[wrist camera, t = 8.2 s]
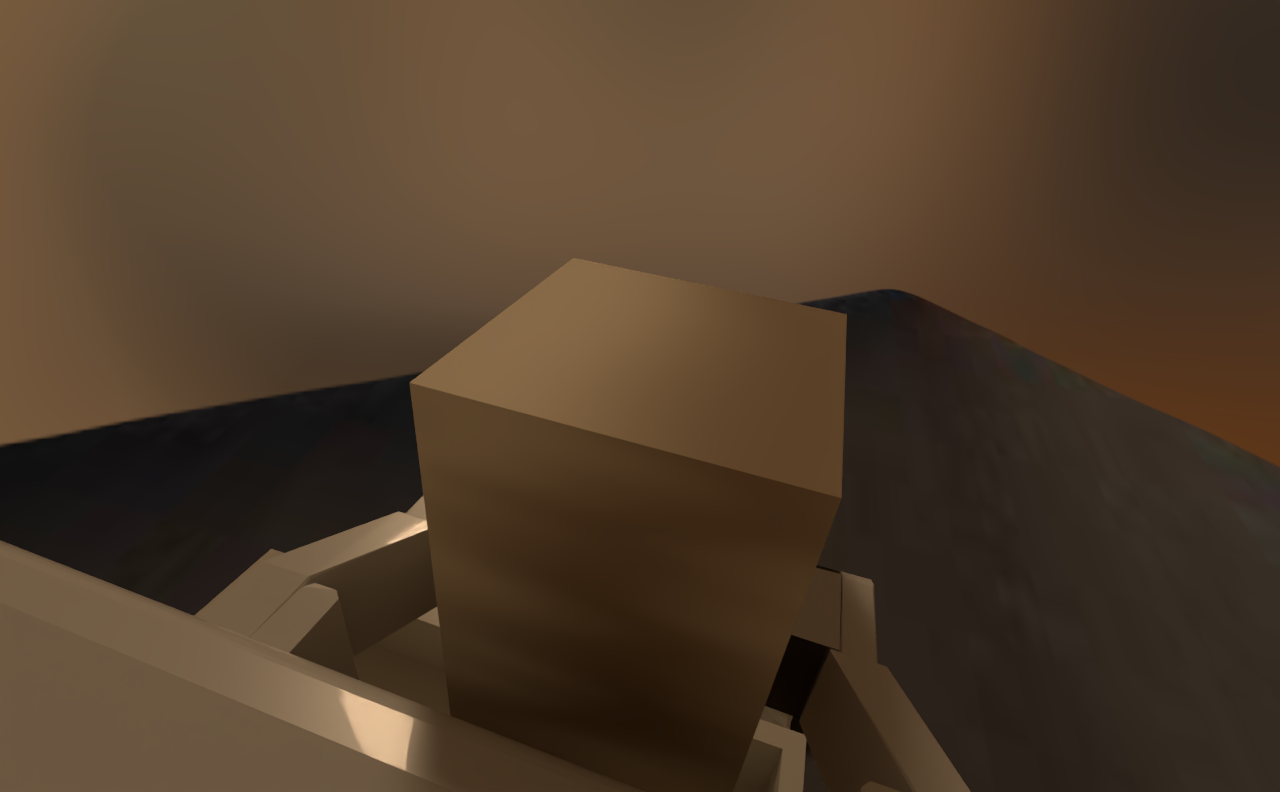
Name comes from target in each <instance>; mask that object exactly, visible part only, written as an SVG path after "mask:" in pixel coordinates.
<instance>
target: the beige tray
mask: <svg viewBox="0 0 1280 792" xmlns="http://www.w3.org/2000/svg"><path fill="white" fill-rule="evenodd" d="M281 554H284V553H282V552H279V551H276V550H273V549H271V550H269V551H268V552H267V553H266V554H265V555H264V556H263V557H261V558H260V559H259V560H258V561H257V562H256V563H254V564H253V565H252V566H251V567H250V568H249V569H248V570H246V571H245V572H244V573H243V574H242V575H241V576H240V577H238V578H237V579H236V580H235V581H234V582H233V583H231V584H230V585H229V586H228V587H227V588H226V589H225V590H223V591H222V592H221V593H220V594H219V595H218V596H217V597H215V598H214V599H213V600H212V601H211V602H210V603H208V604H207V605H206V606H205V607H204V608H203V609H202V610H200V611H199V612H198V613H197V614H196V615H195V617H199V616H201V615H202V614H203V613H204V612H205V611H206V610H207V609H209V608H210V607H211V606H212V605H213V604H214V603H215V602H217V601H218V600H219V599H220V598H221V597H222V596H224V595H225V594H226V593H227V592H228V591H229V590H230V589H232V588H233V587H234V586H235V585H236V584H237V583H238V582H240V581H241V580H242V579H243V578H244V577H245V576H246V575H248V574H249V573H250V572H251V571H252V570H253V569H255V568H256V567H257V566H258V565H259V564H260V563H261V562H263V561H265V560H268V559H270V558H273V557H276V556H279V555H281ZM354 659H355V663H356V667H357V671H358V674H359V678H360V681H362V682H365V683H367V684H370V685H373V686H375V687H378V688H380V689H383V690H385V691H388V692H391V693H393V694H396V695H398V696H401V697H403V698H406V699H409V700H411V701H414V702H416V703H419V704H421V705H424V706H427V707H429V708H432V709H434V710H437V711H439V712H442V713H445V714H447V715H450V707H449V699H448V691H447V683H446V675H445V666H444V658H443V650H442V642H441V634H440V626H439V618H438V610H437V607H436V608H434V609H432V610H431V611H429V612H427V613H426V614H424V615H422V616H421V617H419V618H417V619H416V620H414V621H412V622H411V623H409V624H407V625H406V626H404V627H402V628H401V629H399V630H397V631H396V632H394V633H392V634H391V635H389V636H387V637H386V638H384V639H382V640H381V641H379V642H377V643H376V644H374V645H372V646H371V647H369V648H367V649H366V650H364V651H362V652H361V653H359V654H358V655H356V656H354ZM450 716H451V715H450ZM805 753H806V737H805V735H804V734H801V733H798V732H796V731H793V730H790V729H787V728H784V727H781V726H778V725H776V724H773V723H770V722H767V721H764V720H761V719H760V720H759V723H758V726H757V728H756V731H755V734H754V737H753V739H752V742H751V745H750V747H749V750H748V753H747V756H746V758H745V761H744V764H743V766H742V769H741V772H740V775H739V777H738V780H737V783H736V785H735V788H734V791H733V792H803V782H804V767H805Z"/></svg>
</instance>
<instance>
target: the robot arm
mask: <svg viewBox="0 0 1280 792" xmlns="http://www.w3.org/2000/svg"><path fill="white" fill-rule="evenodd" d="M436 607H437V601H436V593H435V585H434V577H433V569H432V561H431V553H430V544H429V536H428V528H427V520H426V512H425V504H424V496H422V497H421V498H420V499H419V500H418V501H417V502H416V503H415V504H414V505H413V506H412V507H411V509H410V510H409V511H408V512H407V513H406V514H405V513H402V512H396V513H393V514H391V515H388V516H385V517H382V518H380V519H377V520H374V521H371V522H369V523H366V524H363V525H361V526H358V527H355V528H352V529H350V530H347V531H344V532H341V533H339V534H336V535H333V536H331V537H328V538H325V539H322V540H320V541H317V542H314V543H311V544H309V545H306V546H303V547H301V548H298V549H295V550H292V551H290V552H287V553H284V554H281V555H279V556H276V557H273V558H270V559H268V560H265V561H263V562H261V563H260V564H259V565H258V566H257V567H256V568H255V569H253V570H252V571H251V572H250V573H249V574H248V575H246V576H245V577H244V578H243V579H242V580H241V581H240V582H238V583H237V584H236V585H235V586H234V587H233V588H232V589H230V590H229V591H228V592H227V593H226V594H225V595H224V596H222V597H221V598H220V599H219V600H218V601H217V602H215V603H214V604H213V605H212V606H211V607H210V608H209V609H207V610H206V611H205V612H204V613H203V614H202V615H201V616H199V617H195V616H193V615H190V614H187V613H185V612H182V611H180V610H177V609H175V608H172V607H170V606H167V605H164V604H162V603H159V602H157V601H154V600H152V599H149V598H146V597H144V596H141V595H139V594H136V593H134V592H131V591H128V590H126V589H123V588H121V587H118V586H116V585H113V584H111V583H108V582H105V581H103V580H100V579H98V578H95V577H93V576H90V575H87V574H85V573H82V572H80V571H77V570H75V569H72V568H69V567H67V566H64V565H62V564H59V563H57V562H54V561H52V560H49V559H46V558H44V557H41V556H39V555H36V554H34V553H31V552H28V551H26V550H23V549H21V548H18V547H16V546H13V545H10V544H8V543H5V542H3V541H0V792H646V791H643V790H641V789H638V788H635V787H633V786H630V785H628V784H625V783H623V782H620V781H617V780H615V779H612V778H610V777H607V776H605V775H602V774H599V773H597V772H594V771H592V770H589V769H587V768H584V767H581V766H579V765H576V764H574V763H571V762H569V761H566V760H563V759H561V758H558V757H556V756H553V755H550V754H548V753H545V752H543V751H540V750H538V749H535V748H532V747H530V746H527V745H525V744H522V743H519V742H517V741H514V740H512V739H509V738H507V737H504V736H501V735H499V734H496V733H494V732H491V731H489V730H486V729H483V728H481V727H478V726H476V725H473V724H470V723H468V722H465V721H463V720H460V719H458V718H455V717H452V716H450V715H447V714H445V713H442V712H439V711H437V710H434V709H432V708H429V707H427V706H424V705H421V704H419V703H416V702H414V701H411V700H409V699H406V698H403V697H401V696H398V695H396V694H393V693H391V692H388V691H385V690H383V689H380V688H378V687H375V686H373V685H370V684H367V683H365V682H362V681H360V678H359V674H358V671H357V667H356V663H355V659H354V656H356V655H358V654H359V653H361V652H362V651H364V650H366V649H367V648H369V647H371V646H372V645H374V644H376V643H377V642H379V641H381V640H382V639H384V638H386V637H387V636H389V635H391V634H392V633H394V632H396V631H397V630H399V629H401V628H402V627H404V626H406V625H407V624H409V623H411V622H412V621H414V620H416V619H417V618H419V617H421V616H422V615H424V614H426V613H427V612H429V611H431V610H432V609H434V608H436ZM765 706H767V707H769V708H772V709H775V710H777V711H780V712H783V713H785V714H788V715H791V716H794V717H796V718H799V719H800V720H799V723H800V725H801V728H802V730H803V732H804V735H805V737H806V740H807V742H808V745H809V747H810V750H811V752H812V755H813V757H814V759H815V762H816V764H817V767H818V769H819V772H820V774H821V777H822V779H823V782H824V784H825V786H826V789H827V791H828V792H970V790H969V789H968V787H967V786H966V784H965V783H964V781H963V780H962V778H961V777H960V775H959V774H958V772H957V771H956V769H955V768H954V766H953V765H952V763H951V762H950V760H949V759H948V757H947V756H946V754H945V753H944V751H943V750H942V748H941V747H940V745H939V744H938V742H937V741H936V739H935V738H934V736H933V735H932V733H931V732H930V731H929V729H928V728H927V726H926V725H925V723H924V722H923V720H922V719H921V717H920V716H919V714H918V713H917V711H916V710H915V708H914V707H913V705H912V704H911V702H910V701H909V699H908V698H907V696H906V695H905V693H904V692H903V690H902V689H901V687H900V686H899V684H898V683H897V681H896V680H895V678H894V677H893V675H892V674H891V672H890V671H889V669H888V668H887V667H885V666H883V665H880V664H877V645H876V621H875V598H874V584H873V582H872V581H871V580H870V579H866V578H862V577H859V576H855V575H852V574H848V573H844V572H839V571H837V570H833V569H829V568H826V567H822V566H819V565H817V566H816V568H815V571H814V574H813V577H812V579H811V582H810V585H809V587H808V590H807V593H806V596H805V598H804V601H803V604H802V606H801V609H800V612H799V615H798V617H797V620H796V623H795V625H794V628H793V631H792V634H791V636H790V639H789V642H788V644H787V647H786V650H785V653H784V655H783V658H782V661H781V663H780V666H779V669H778V671H777V674H776V677H775V680H774V682H773V685H772V688H771V690H770V693H769V696H768V699H767V701H766V704H765Z"/></svg>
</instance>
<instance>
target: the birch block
mask: <svg viewBox="0 0 1280 792" xmlns="http://www.w3.org/2000/svg"><path fill="white" fill-rule="evenodd" d="M846 322H847V314H843V313H838V312H833V311H828V310H823V309H818V308H813V307H809V306H804V305H799V304H794V303H789V302H784V301H779V300H775V299H770V298H765V297H760V296H755V295H750V294H746V293H741V292H736V291H731V290H726V289H721V288H717V287H711V286H707V285H702V284H697V283H692V282H688V281H683V280H678V279H673V278H668V277H663V276H658V275H654V274H649V273H644V272H639V271H634V270H629V269H625V268H620V267H615V266H610V265H605V264H600V263H595V262H590V261H586V260H581V259H576V258H573V259H572V260H570V261H569V262H568V263H566V264H565V265H564V266H562V267H561V268H560V269H558V270H557V271H556V272H554V274H552V275H551V276H549V277H548V278H547V279H545V280H544V281H543V282H541V283H540V284H539V285H537V286H536V287H535V288H533V289H532V290H531V291H529V292H528V293H527V294H526V295H524V296H523V297H522V298H520V299H519V300H518V301H516V302H515V303H514V304H512V305H511V306H510V307H508V308H507V309H506V310H505V311H503V312H502V313H501V314H499V315H498V316H497V317H495V318H494V319H493V320H491V321H490V322H489V323H487V324H486V325H485V326H483V327H482V328H481V329H480V330H478V331H477V332H476V333H474V334H473V335H472V336H471V337H469V338H468V339H466V340H465V341H464V342H462V343H461V344H460V345H458V346H457V347H456V348H455V349H453V350H452V351H451V352H449V353H448V354H447V355H445V356H444V357H443V358H441V359H440V360H439V361H437V363H435V364H434V365H432V366H431V367H430V368H428V369H427V370H426V371H424V372H423V373H422V374H420V375H419V376H418V377H416V378H415V379H414V380H412V381H411V382H410V390H411V398H412V406H413V414H414V422H415V431H416V439H417V447H418V455H419V463H420V471H421V479H422V487H423V496H424V504H425V512H426V520H427V528H428V536H429V544H430V553H431V561H432V569H433V577H434V585H435V593H436V601H437V610H438V618H439V626H440V634H441V642H442V650H443V658H444V666H445V675H446V683H447V691H448V699H449V707H450V715H451V716H452V717H455V718H458V719H460V720H463V721H465V722H468V723H470V724H473V725H476V726H478V727H481V728H483V729H486V730H489V731H491V732H494V733H496V734H499V735H501V736H504V737H507V738H509V739H512V740H514V741H517V742H519V743H522V744H525V745H527V746H530V747H532V748H535V749H538V750H540V751H543V752H545V753H548V754H550V755H553V756H556V757H558V758H561V759H563V760H566V761H569V762H571V763H574V764H576V765H579V766H581V767H584V768H587V769H589V770H592V771H594V772H597V773H599V774H602V775H605V776H607V777H610V778H612V779H615V780H617V781H620V782H623V783H625V784H628V785H630V786H633V787H635V788H638V789H641V790H643V791H646V792H733V791H734V788H735V785H736V783H737V780H738V777H739V775H740V772H741V769H742V766H743V764H744V761H745V758H746V756H747V753H748V750H749V747H750V745H751V742H752V739H753V737H754V734H755V731H756V728H757V726H758V723H759V720H760V718H761V715H762V712H763V709H764V707H765V704H766V701H767V699H768V696H769V693H770V690H771V688H772V685H773V682H774V680H775V677H776V674H777V671H778V669H779V666H780V663H781V661H782V658H783V655H784V653H785V650H786V647H787V644H788V642H789V639H790V636H791V634H792V631H793V628H794V625H795V623H796V620H797V617H798V615H799V612H800V609H801V606H802V604H803V601H804V598H805V596H806V593H807V590H808V587H809V585H810V582H811V579H812V577H813V574H814V571H815V568H816V566H817V563H818V560H819V558H820V555H821V552H822V549H823V547H824V544H825V541H826V539H827V536H828V533H829V531H830V528H831V525H832V522H833V520H834V517H835V514H836V512H837V509H838V506H839V503H840V501H841V496H842V461H843V426H844V392H845V357H846Z"/></svg>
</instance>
